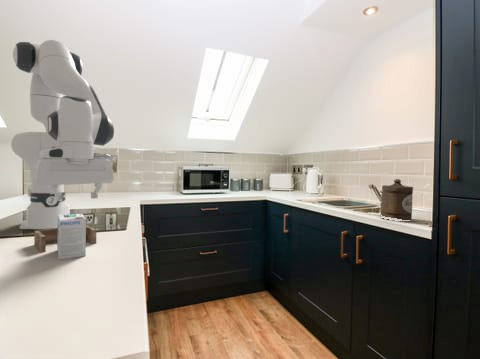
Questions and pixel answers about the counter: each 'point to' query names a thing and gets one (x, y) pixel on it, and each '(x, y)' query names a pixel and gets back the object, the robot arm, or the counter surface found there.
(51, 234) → the shelf bay
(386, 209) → the wooden container
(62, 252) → the light bulb box
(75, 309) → the counter surface
